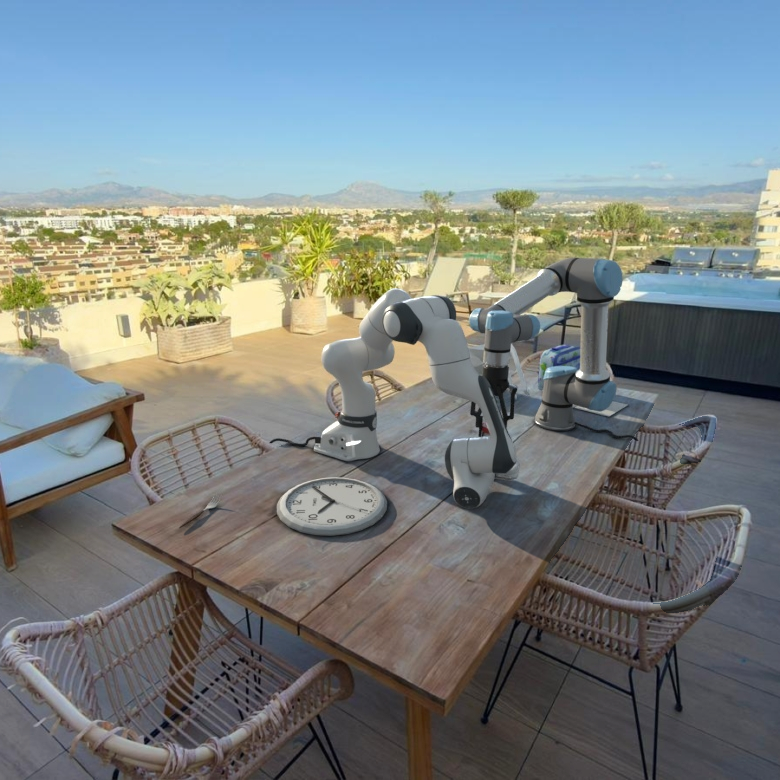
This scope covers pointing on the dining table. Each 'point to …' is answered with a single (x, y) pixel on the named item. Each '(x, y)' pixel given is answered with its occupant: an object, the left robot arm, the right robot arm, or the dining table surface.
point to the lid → (485, 428)
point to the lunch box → (558, 360)
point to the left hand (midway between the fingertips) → (489, 454)
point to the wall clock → (331, 506)
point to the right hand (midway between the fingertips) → (490, 438)
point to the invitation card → (609, 411)
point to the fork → (209, 506)
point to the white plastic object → (477, 362)
